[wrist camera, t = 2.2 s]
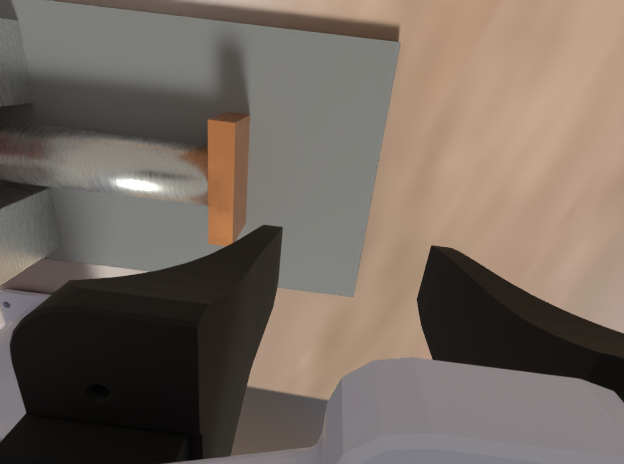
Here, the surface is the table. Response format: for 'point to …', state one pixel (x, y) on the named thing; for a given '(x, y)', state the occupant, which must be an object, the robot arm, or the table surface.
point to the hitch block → (17, 197)
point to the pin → (139, 166)
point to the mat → (194, 129)
